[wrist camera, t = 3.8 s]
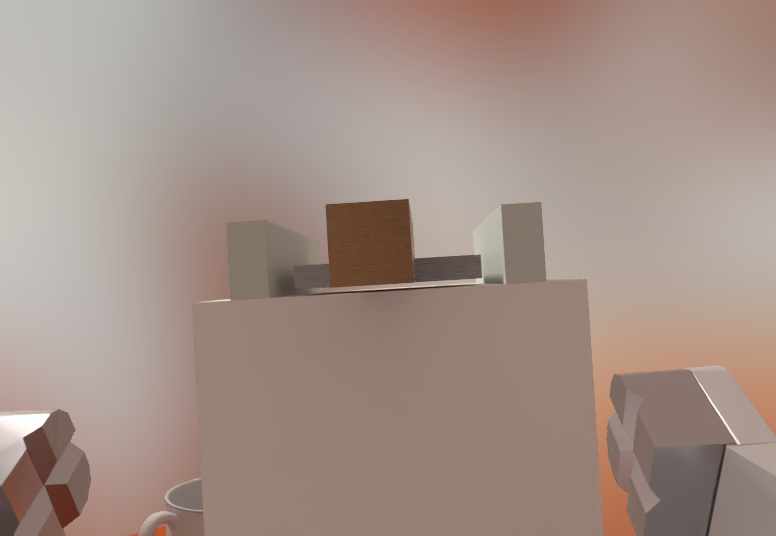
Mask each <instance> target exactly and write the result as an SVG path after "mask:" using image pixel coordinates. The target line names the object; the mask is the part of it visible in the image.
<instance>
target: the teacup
mask: <svg viewBox="0 0 776 536" xmlns="http://www.w3.org/2000/svg"><path fill="white" fill-rule="evenodd" d="M165 503H166V512H165V511H161V512H157V513H155V514H152V515H151V516H149V517H148V518H147V519H146V521H145V522H144V523H143V525H142V527H141V530H140V533H139V536H154V534H155V532H156V530H157V528H158V527H159V526H160V525H161V524H164V523H166V528H167V536H204V517H203V499H202V480H201V478H199V479H194V480H191V481H187V482H185V483H182V484H179V485H177V486H175V487H173V488H172V489H170V490H169V491H168V492H167V493H166V495H165Z"/></svg>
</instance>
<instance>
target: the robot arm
mask: <svg viewBox="0 0 776 536" xmlns="http://www.w3.org/2000/svg"><path fill="white" fill-rule="evenodd" d="M610 398H611V401H612V403H613V405H614V407H615V410H616V412H615V414H614V415H613V416H612V417H611V418H610V419H609V420H608V427H607V444H608V454H609V460H610V464H611V468H612V472H613V475H614V477H615V480H616V483H617V485H618V486H619V487H620V488H622V489H623V490H624V491H626V492H627V493H628V500H627V512H628V515H629V517H630V520H631V522H632V525H633V527H634V530H635V533H636V535H637V536H776V436H775V434H774V433H773V432H772V430H771V429H770V428H769V426H768V425H767V424H766V422H765V421H764V419H763V418H762V416H761V415H760V414H759V412H758V411H757V410H756V408H755V407H754V406H753V404H752V403H751V402H750V400H749V399H748V397H747V396H746V395H745V393H744V392H743V391H742V389H741V388H740V386H739V385H738V383H737V382H736V381H735V379H734V378H733V376H732V375H731V374H730V372H729V371H728V370H727V369H726V368H725V367H723V366H721V365H716V366H706V367H694V368H685V369H684V370H669V371H653V372H639V373H624V374H614V376H613V379H612V382H611V390H610ZM74 432H75V428H74V426H73V423H72V421H71V419H70V417H69V415H68V413H67V412H64V411H62V410H59V409H51V410H28V411H4V412H3V411H2V412H0V536H66V535H65V532H64V529H63V528H64V527H65V526H67V525H68V524H69V523H71V522H72V521H73V520H74V519H75V518H77V517H78V516H80V514H81V512H82V509H83V508H84V506H85V504H86V501H87V499H88V493H89V488H90V482H91V477H90V469H89V464H88V461H87V458H86V455H85V453H84V452H83V451H82V450H81V449H79V448H78V447H77V446H75V445H74V444H73V443H71V442H70V440H71V438H72V436H73V434H74Z"/></svg>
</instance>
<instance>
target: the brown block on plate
mask: <svg viewBox="0 0 776 536" xmlns="http://www.w3.org/2000/svg"><path fill="white" fill-rule="evenodd" d="M326 218H327V237H328V255H329V264H319V265H303V266H294V279H295V289H309V288H325V287H330V288H331V287H346V286H363V285H380V284H398V283H414V282H425V281H441V280H459V279H476V278H482V267H481V255H467V256H466V255H465V256H449V257H433V258H417V259H415V256H414V240H413V239H414V238H413V225H412V218H411V212H410V205H409V200H408V199H404V200H388V201H373V202H358V203H342V204H328V205H326Z"/></svg>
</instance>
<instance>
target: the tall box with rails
mask: <svg viewBox="0 0 776 536" xmlns="http://www.w3.org/2000/svg"><path fill="white" fill-rule="evenodd" d="M226 226H227V245H228V264H229V281H230V299H228V300H217V301H207V302H196V303H192V312H193V329H194V330H193V331H194V349H195V366H196V384H197V404H198V424H199V443H200V461H201V480H202V499H203V517H204V536H604V533H603V517H602V502H601V487H600V473H599V457H598V441H597V427H596V411H595V396H594V383H593V367H592V351H591V337H590V321H589V308H588V307H589V306H588V291H587V280H586V279H584V280H583V279H581V280H580V279H579V280H546V270H545V254H544V239H543V224H542V208H541V202H535V203H520V204H505V205H500V206H499V207H498V208H497V209H496V210H495V211H494V212H493V213H492V214H491V215H490V216H489V217H488V218H487V219H486V220H485V221H484V222H482V223H481V224H480V225H479V226H478V227H477V228H476V229H475V230H474V231H473V240H474V255H481V267H482V278H476V283H469V284H453V285H437V286H419V287H404V288H403V287H402V288H386V289H370V290H352V291H335V292H322V288H309V289H295V279H294V266H303V265H319V264H321V259H320V242H319V241H317V240H315V239H312V238H310V237H307V236H305V235H302V234H299V233H297V232H294V231H291V230H289V229H286V228H284V227H281V226H279V225H276V224H274V223H271V222H269V221H266V220H258V221H242V222H227V223H226Z"/></svg>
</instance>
